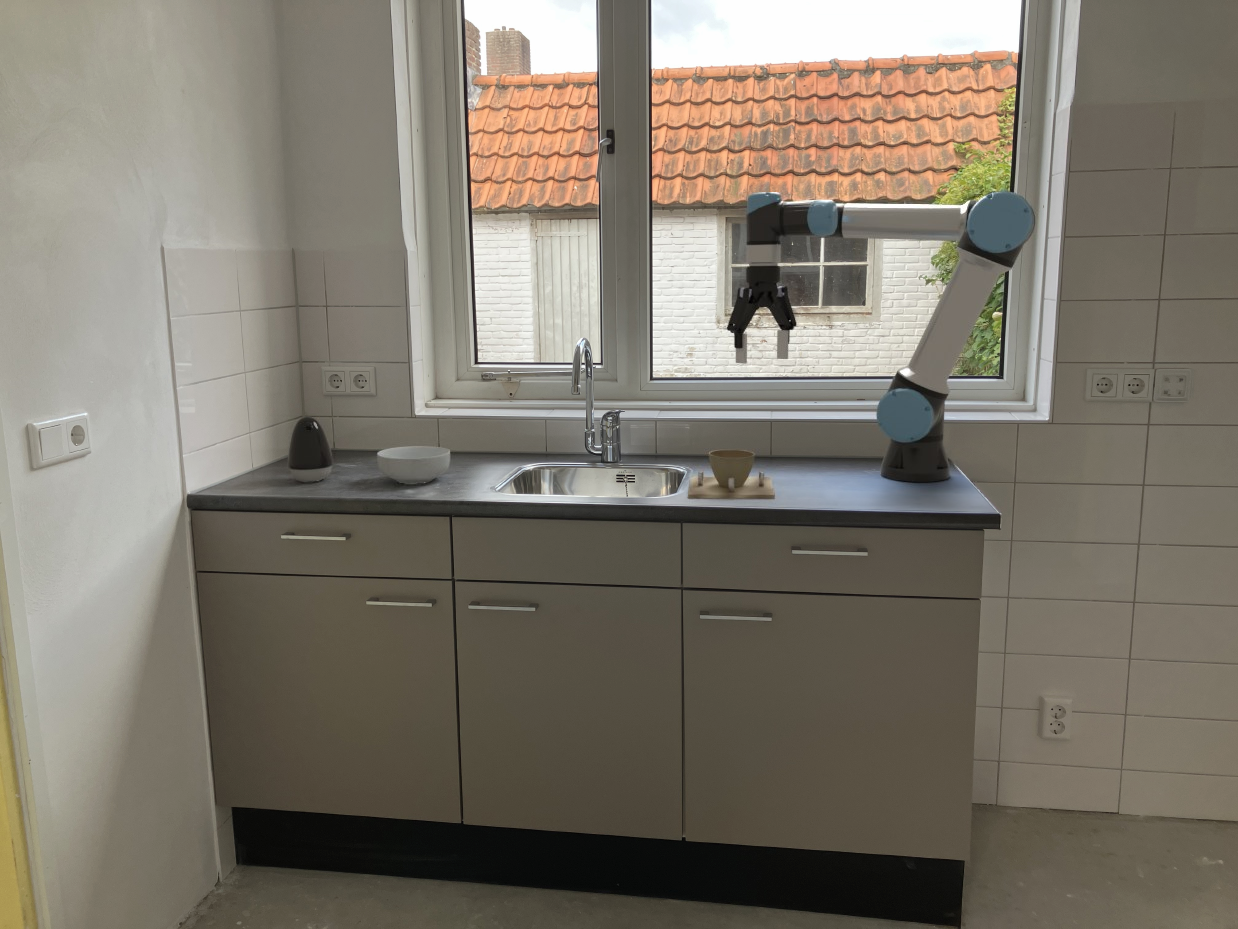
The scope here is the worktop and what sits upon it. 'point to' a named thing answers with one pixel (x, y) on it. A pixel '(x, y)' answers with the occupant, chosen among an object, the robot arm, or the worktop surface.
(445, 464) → the cereal bowl
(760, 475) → the wooden peg board
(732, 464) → the flower pot
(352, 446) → the worktop surface
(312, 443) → the black egg-shaped dome
